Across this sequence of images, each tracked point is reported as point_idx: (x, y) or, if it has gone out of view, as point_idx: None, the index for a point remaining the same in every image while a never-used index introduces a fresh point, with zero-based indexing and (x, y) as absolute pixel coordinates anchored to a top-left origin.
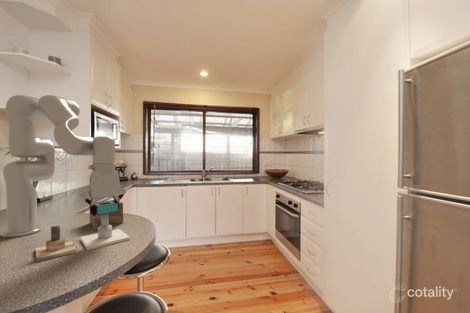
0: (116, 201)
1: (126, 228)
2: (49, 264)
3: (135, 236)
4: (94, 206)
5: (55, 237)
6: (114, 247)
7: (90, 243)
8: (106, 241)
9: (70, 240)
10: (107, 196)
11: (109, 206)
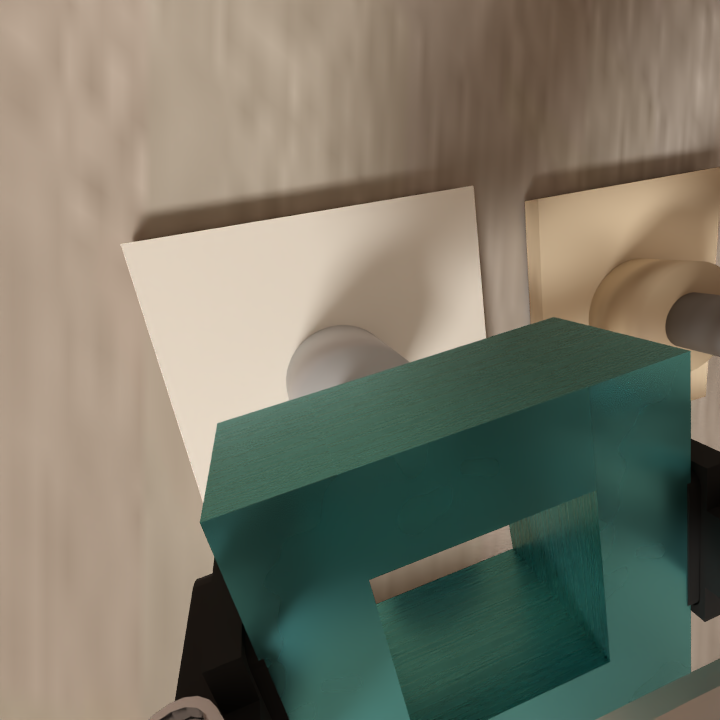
0: (233, 717)
1: (158, 602)
2: (653, 80)
3: (70, 324)
4: (700, 447)
5: (717, 296)
6: (271, 124)
7: (447, 273)
8: (335, 244)
9: None
10: (673, 707)
11: (410, 416)
